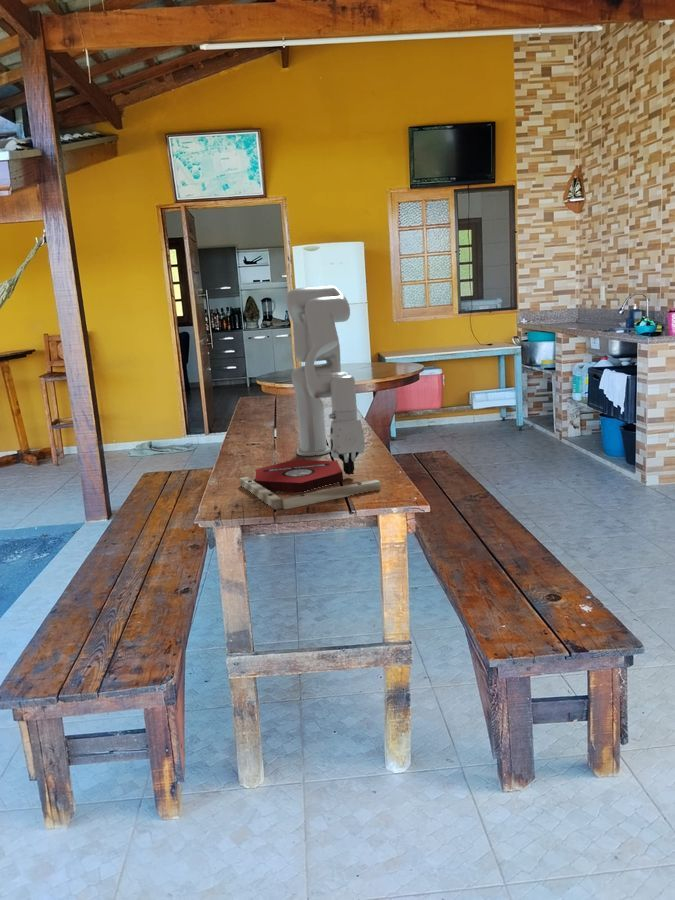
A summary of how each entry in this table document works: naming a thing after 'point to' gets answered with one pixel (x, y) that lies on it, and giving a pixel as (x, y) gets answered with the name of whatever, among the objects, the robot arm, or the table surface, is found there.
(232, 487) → the table surface
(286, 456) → the table surface
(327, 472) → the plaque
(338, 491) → the corner rail
